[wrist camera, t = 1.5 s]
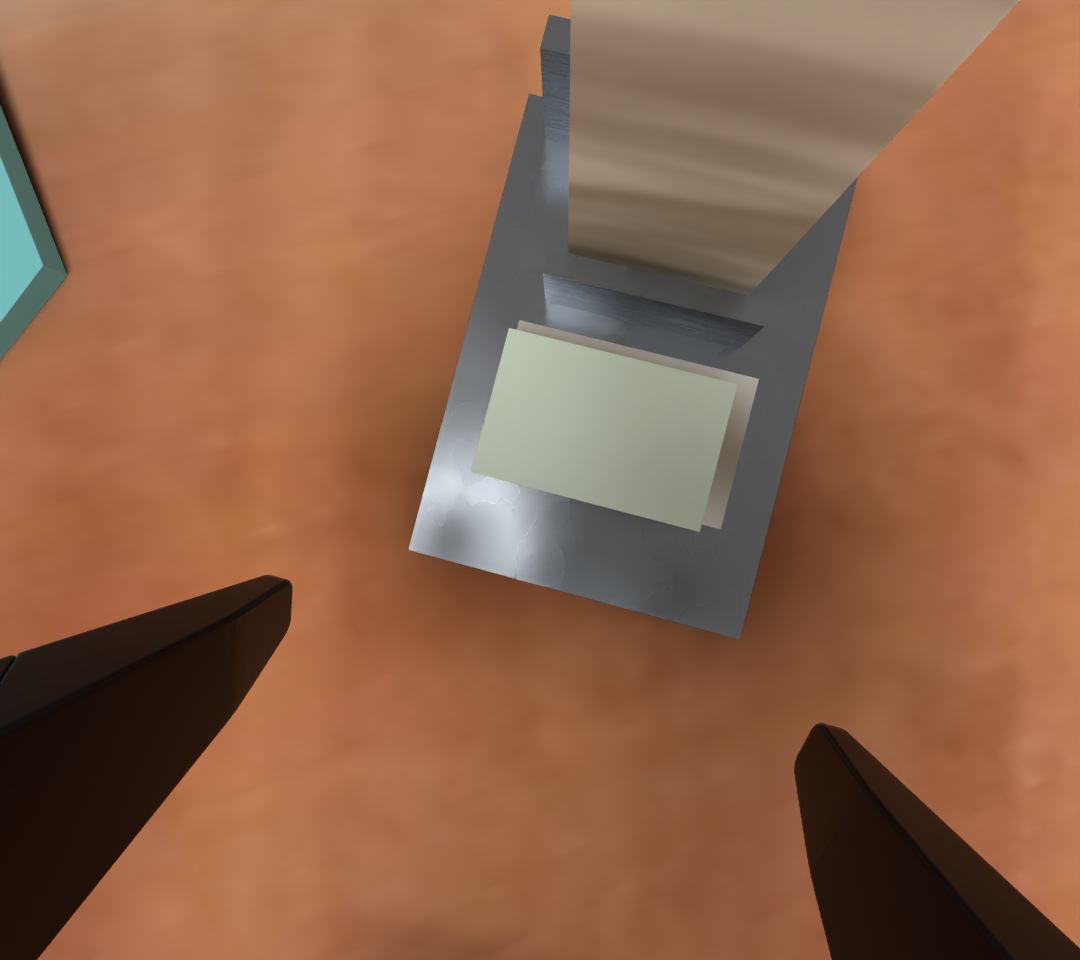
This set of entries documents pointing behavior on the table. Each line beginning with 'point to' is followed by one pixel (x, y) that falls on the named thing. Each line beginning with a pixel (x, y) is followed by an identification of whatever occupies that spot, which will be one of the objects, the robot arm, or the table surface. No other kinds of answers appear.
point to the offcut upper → (604, 429)
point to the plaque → (22, 246)
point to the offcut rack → (638, 322)
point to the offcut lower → (744, 383)
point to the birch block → (741, 120)
